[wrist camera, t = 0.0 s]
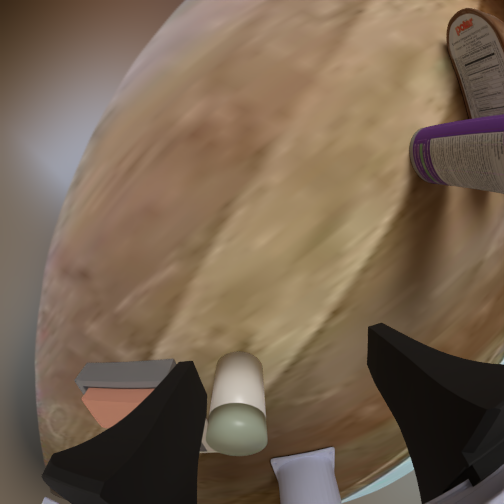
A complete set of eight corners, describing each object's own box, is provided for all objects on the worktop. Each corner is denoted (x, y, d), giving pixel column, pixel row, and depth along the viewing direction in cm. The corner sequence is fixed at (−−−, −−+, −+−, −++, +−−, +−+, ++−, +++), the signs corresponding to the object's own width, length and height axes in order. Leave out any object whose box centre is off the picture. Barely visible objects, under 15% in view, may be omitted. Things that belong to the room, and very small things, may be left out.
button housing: (195, 405, 23) (191, 427, 21) (113, 405, 24) (104, 423, 21) (173, 358, 22) (165, 380, 19) (87, 362, 22) (74, 380, 19)
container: (442, 125, 17) (589, 113, 2) (454, 178, 18) (600, 206, 3) (402, 130, 17) (571, 106, 2) (416, 188, 18) (583, 226, 4)
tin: (490, 168, 17) (553, 175, 9) (473, 170, 18) (540, 177, 10) (450, 29, 14) (499, 3, 5) (430, 23, 14) (479, -9, 6)
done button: (176, 418, 21) (172, 432, 19) (107, 415, 21) (102, 427, 19) (159, 388, 20) (153, 402, 18) (88, 387, 20) (81, 399, 18)
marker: (266, 381, 23) (271, 452, 15) (223, 387, 23) (216, 457, 15) (257, 347, 22) (261, 421, 14) (210, 355, 22) (197, 427, 14)
